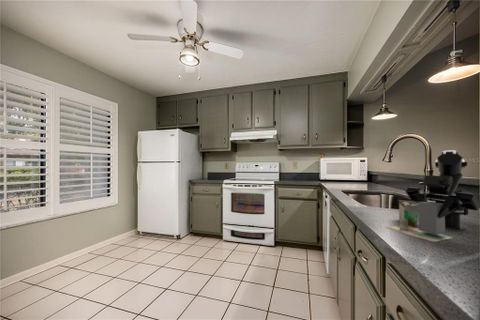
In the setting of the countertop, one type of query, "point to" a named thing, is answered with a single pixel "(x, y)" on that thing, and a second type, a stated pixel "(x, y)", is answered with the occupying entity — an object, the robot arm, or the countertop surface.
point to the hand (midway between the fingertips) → (428, 215)
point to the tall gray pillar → (431, 218)
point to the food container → (409, 212)
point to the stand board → (417, 231)
